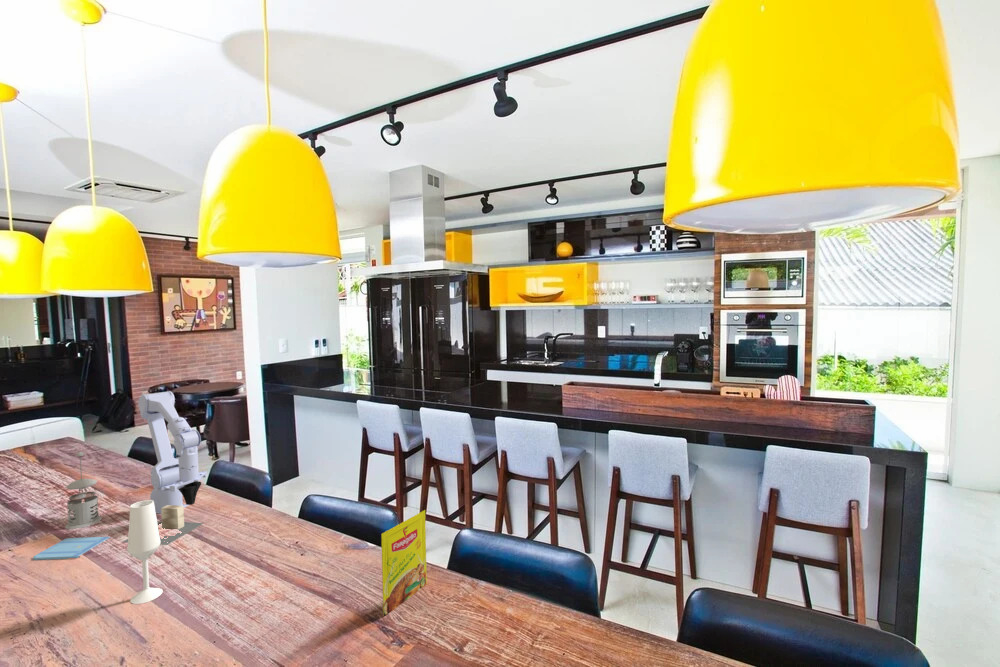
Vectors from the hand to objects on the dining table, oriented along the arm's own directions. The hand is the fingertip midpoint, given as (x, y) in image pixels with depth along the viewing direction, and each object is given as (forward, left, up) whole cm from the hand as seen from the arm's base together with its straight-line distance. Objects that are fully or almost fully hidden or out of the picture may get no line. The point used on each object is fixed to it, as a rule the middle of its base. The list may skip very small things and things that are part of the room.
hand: (190, 504), depth 163 cm
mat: (0, -11, -5) cm, 12 cm away
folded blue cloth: (-20, -23, -6) cm, 31 cm away
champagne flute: (+24, -42, -6) cm, 49 cm away
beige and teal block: (0, -7, -5) cm, 9 cm away
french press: (-37, -6, -6) cm, 37 cm away
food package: (+91, -36, -6) cm, 98 cm away
